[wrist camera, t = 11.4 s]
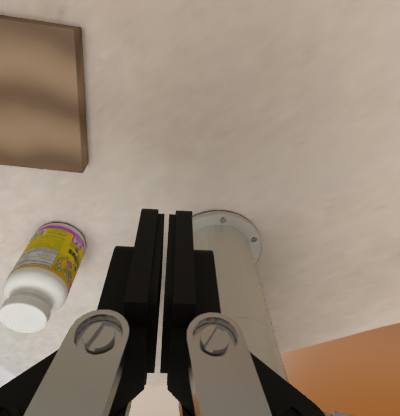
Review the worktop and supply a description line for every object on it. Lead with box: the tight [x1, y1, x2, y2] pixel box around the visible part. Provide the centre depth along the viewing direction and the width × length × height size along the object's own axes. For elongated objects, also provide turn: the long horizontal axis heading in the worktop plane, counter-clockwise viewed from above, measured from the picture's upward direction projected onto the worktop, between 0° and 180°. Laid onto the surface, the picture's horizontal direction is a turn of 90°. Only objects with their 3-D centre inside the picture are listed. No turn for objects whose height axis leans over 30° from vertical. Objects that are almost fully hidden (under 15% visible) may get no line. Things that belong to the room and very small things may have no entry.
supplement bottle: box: [0, 223, 86, 333], centre depth 38 cm, size 7×7×13 cm
